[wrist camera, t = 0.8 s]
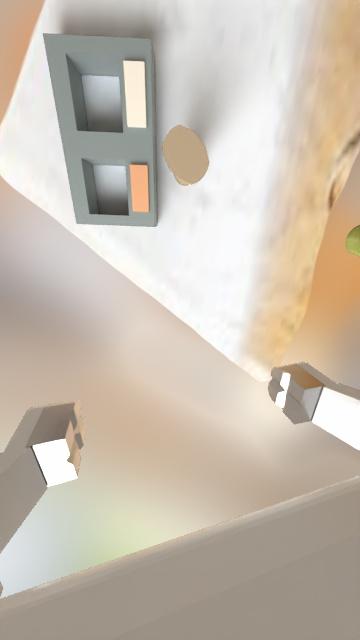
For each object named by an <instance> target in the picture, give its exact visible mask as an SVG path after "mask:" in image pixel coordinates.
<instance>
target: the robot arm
mask: <svg viewBox="0 0 360 640" xmlns="http://www.w3.org/2000/svg"><path fill="white" fill-rule="evenodd" d="M271 376H272V378H273V379H272V380H271V381H270V383H269V386H268V391H269V395H270V397H271V399H272V400H273V401H274V402H275V404H277V405H279V406H281V407H282V409H283V413H284V414H285V415H286V416H287V417H288V418H289V419H290V420H291V421H292V422H293V423H294V424H298V423H303V422H308V421H312V422H313V423H314V424H316V425H318V426H320V427H321V428H323V429H324V430H326V431H328V432H329V433H331V434H333V435H334V436H336V437H338V438H340V439H341V440H343V441H345V442H346V443H348V444H350V445H351V446H353V447H355V448H356V449H358V450H360V390H358V389H355V388H352V387H349V386H346V385H343V384H340V383H339V384H336V383H335V382H333V381H332V380H330V379H329V378H328V377H326V376H325V375H323V374H322V373H321V372H319V371H318V370H316V369H315V368H313V367H312V366H311V365H309V364H308V363H305V362H300V363H295V364H290V365H285V366H279V367H274V368H273V369H272V372H271ZM80 411H81V406H80V402H79V401H77V400H76V401H69V402H63V403H55V404H49V405H44V406H38V407H31V408H30V409H29V410H27V411H26V413H25V415H24V417H23V419H22V420H21V422H20V424H19V426H18V428H17V429H16V431H15V433H14V435H13V437H12V438H11V440H10V442H9V444H8V445H7V447H6V449H5V451H4V452H3V453H0V553H1V552H2V550H3V549H4V547H5V546H6V545H7V543H8V542H9V541H10V539H11V538H12V537H13V535H14V534H15V532H16V531H17V530H18V528H19V527H20V526H21V524H22V523H23V521H24V520H25V518H26V517H27V516H28V515H29V513H30V512H31V510H32V509H33V508H34V506H35V505H36V503H37V502H38V501H39V499H40V498H41V497H42V495H43V494H44V492H45V491H46V490H47V488H48V487H47V486H51V485H54V484H58V483H61V482H65V481H69V480H72V479H76V478H77V476H78V471H79V466H80V461H81V456H80V452H79V450H80V449H81V448H82V446H83V445H84V440H85V422H84V418H83V417H82V416H81V415H80ZM2 590H3V587H2V585H1V582H0V596H1V593H2ZM0 640H360V475H359V476H356V477H353V478H350V479H347V480H344V481H341V482H339V483H336V484H333V485H330V486H327V487H324V488H321V489H318V490H316V491H312V492H309V493H306V494H304V495H301V496H298V497H295V498H292V499H289V500H286V501H283V502H280V503H278V504H274V505H272V506H269V507H266V508H263V509H260V510H257V511H254V512H251V513H248V514H245V515H242V516H240V517H237V518H234V519H231V520H228V521H225V522H222V523H219V524H216V525H214V526H211V527H208V528H205V529H202V530H199V531H196V532H193V533H190V534H187V535H184V536H182V537H178V538H176V539H173V540H170V541H167V542H164V543H161V544H158V545H155V546H153V547H149V548H147V549H144V550H141V551H138V552H135V553H132V554H129V555H126V556H123V557H121V558H118V559H115V560H112V561H109V562H106V563H103V564H100V565H97V566H94V567H91V568H89V569H86V570H83V571H80V572H77V573H74V574H71V575H69V576H65V577H62V578H60V579H57V580H54V581H51V582H48V583H45V584H42V585H39V586H36V587H34V588H31V589H28V590H25V591H22V592H19V593H16V594H13V595H10V596H8V597H4V598H2V599H0Z"/></svg>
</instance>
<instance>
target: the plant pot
mask: <svg viewBox="0 0 360 640" xmlns="http://www.w3.org/2000/svg"><path fill="white" fill-rule="evenodd" d="M345 246H346V249H347V250H348V251H349V252H350V253H353V254H355V255H357V256H360V225H359V226H357V227H355V228H354V229H353V230H352V231H351V232H350V233H349V234H348V236H347V240H346V245H345Z"/></svg>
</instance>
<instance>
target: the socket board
mask: <svg viewBox="0 0 360 640" xmlns="http://www.w3.org/2000/svg"><path fill="white" fill-rule="evenodd" d="M43 37H44V43H45V49H46V54H47V60H48V66H49V71H50V77H51V82H52V88H53V94H54V99H55V105H56V111H57V116H58V122H59V128H60V133H61V139H62V144H63V150H64V156H65V161H66V167H67V173H68V178H69V184H70V190H71V195H72V201H73V207H74V212H75V218H76V223H77V224H95V225H120V226H146V227H155V226H157V184H156V115H155V61H154V56H153V50H152V44H151V39H148V38H128V37H107V36H87V35H67V34H46V33H43ZM81 75H98V76H119V79H120V93H121V107H122V121H123V133H115V132H92V131H88V126H87V119H86V111H85V103H84V95H83V88H82V80H81ZM93 165H115V166H126V179H127V193H128V207H129V216H127V215H101V214H99V211H98V204H97V196H96V188H95V180H94V173H93Z"/></svg>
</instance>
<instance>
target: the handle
mask: <svg viewBox="0 0 360 640" xmlns="http://www.w3.org/2000/svg"><path fill="white" fill-rule="evenodd" d="M162 150H163V153H164V156H165V159H166V162H167V165H168V167H169V169H170V170H171V171H172V173H173V174H174V176H175V179H176V180H177V182H178V183H179V184H181V185H184V186H185V185H186V186H187V185H189V184H191V185H192V184H195V183H197V182H198V181H200V180H201V179H202V178H203V176H204V175H205V173H206V171H207V169H208V166H209V159H208V155H207V151H206V148H205V146H204V144H203V142H202V141H201V140H200V138H199V137H198V136H197V135H196V134H195V133H194V132H193V131H192V130H190V129H188V128H186V127H183V126H181V125H178V126H176V127H174V128H173V129H171V130H170V132H169V133H168V134H167V136H166V137H165V140H164V142H163V148H162Z"/></svg>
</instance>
